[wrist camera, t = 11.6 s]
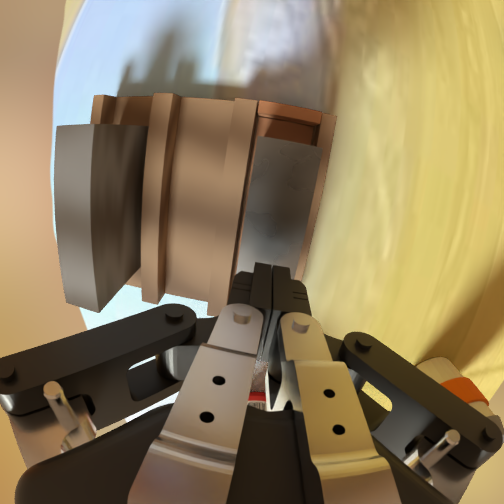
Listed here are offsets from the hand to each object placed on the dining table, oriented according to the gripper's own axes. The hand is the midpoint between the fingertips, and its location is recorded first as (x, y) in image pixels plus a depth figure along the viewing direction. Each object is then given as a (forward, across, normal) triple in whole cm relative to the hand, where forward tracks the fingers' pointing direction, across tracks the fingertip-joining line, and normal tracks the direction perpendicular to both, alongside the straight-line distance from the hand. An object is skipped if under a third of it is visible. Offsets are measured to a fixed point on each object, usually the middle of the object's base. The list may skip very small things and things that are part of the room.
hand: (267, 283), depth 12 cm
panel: (+10, 0, 0) cm, 10 cm away
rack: (+12, +6, 0) cm, 13 cm away
